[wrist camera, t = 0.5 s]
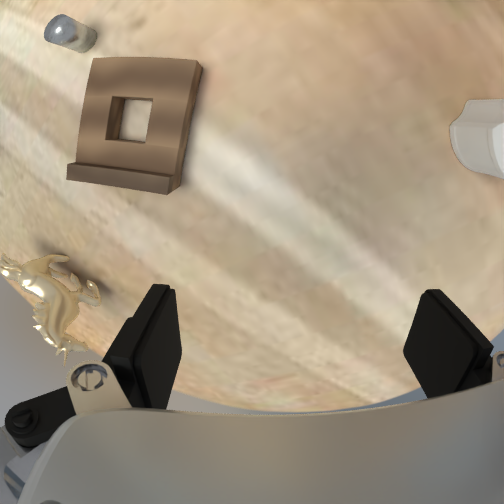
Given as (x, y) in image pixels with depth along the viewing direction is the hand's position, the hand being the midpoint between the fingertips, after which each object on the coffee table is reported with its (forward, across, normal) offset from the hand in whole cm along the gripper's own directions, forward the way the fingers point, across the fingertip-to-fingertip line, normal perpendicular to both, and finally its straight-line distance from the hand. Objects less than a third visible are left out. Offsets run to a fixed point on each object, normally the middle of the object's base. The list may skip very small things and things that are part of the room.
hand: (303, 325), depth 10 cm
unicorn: (+30, +31, +13) cm, 45 cm away
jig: (+30, +17, -9) cm, 35 cm away
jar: (+30, -32, -12) cm, 45 cm away
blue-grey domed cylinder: (+30, +27, -23) cm, 46 cm away
